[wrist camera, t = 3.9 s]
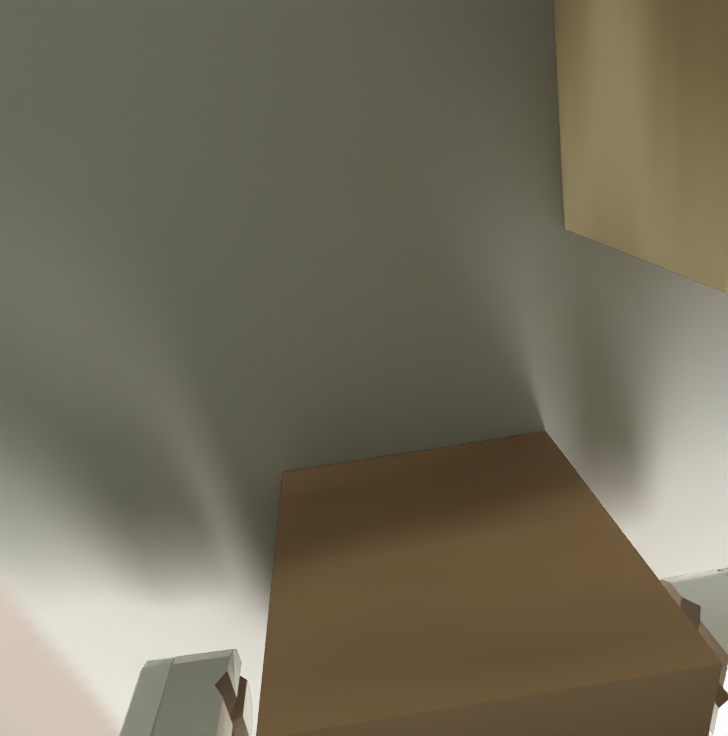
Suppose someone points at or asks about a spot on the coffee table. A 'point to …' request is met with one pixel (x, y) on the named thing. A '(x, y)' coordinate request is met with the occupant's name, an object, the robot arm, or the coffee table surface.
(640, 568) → the walnut block
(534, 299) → the coffee table surface
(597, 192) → the oak base block
